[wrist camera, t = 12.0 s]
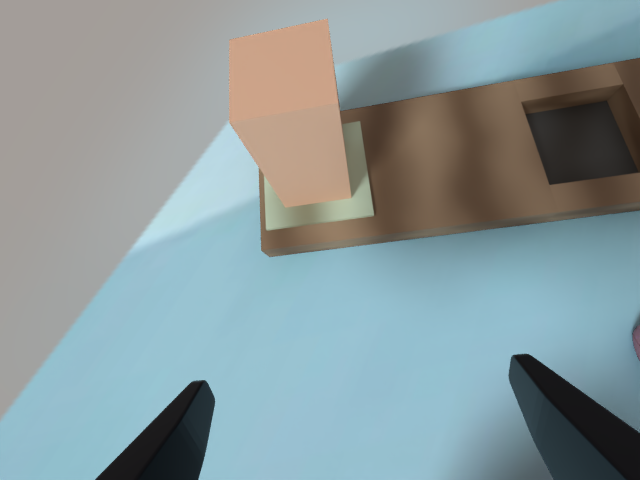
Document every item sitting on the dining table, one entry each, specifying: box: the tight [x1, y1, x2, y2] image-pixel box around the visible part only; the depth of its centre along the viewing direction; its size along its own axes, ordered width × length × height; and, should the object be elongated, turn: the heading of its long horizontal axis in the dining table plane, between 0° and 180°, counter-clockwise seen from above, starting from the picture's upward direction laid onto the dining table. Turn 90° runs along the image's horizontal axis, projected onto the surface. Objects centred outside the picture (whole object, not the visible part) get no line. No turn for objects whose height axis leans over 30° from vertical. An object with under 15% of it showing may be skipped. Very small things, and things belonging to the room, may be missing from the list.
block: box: [229, 19, 351, 208], centre depth 20 cm, size 5×5×10 cm
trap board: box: [259, 58, 640, 257], centre depth 24 cm, size 30×11×2 cm, turn 95°
